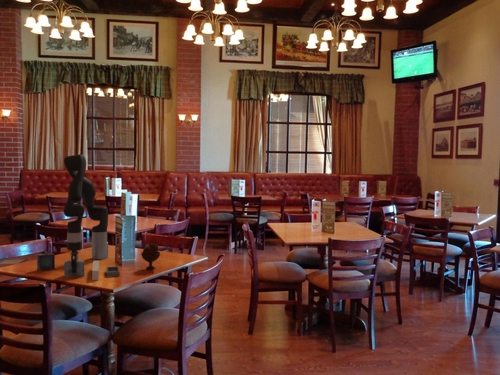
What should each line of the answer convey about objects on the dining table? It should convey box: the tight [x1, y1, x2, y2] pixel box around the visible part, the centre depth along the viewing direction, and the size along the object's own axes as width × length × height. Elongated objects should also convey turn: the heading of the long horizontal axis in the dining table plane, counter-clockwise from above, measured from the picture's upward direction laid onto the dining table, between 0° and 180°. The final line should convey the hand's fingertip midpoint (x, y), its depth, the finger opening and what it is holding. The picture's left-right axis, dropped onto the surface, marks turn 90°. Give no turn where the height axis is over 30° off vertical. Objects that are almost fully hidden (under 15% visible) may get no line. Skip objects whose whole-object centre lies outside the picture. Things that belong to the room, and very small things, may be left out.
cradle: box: [105, 266, 121, 278], centre depth 251 cm, size 13×7×2 cm, turn 18°
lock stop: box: [63, 259, 85, 278], centre depth 244 cm, size 10×4×8 cm, turn 108°
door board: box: [91, 260, 100, 281], centre depth 248 cm, size 24×3×5 cm, turn 18°
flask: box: [36, 250, 56, 271], centre depth 256 cm, size 9×3×11 cm, turn 109°
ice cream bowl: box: [140, 243, 161, 271], centre depth 263 cm, size 11×11×15 cm
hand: (74, 271), depth 244 cm, fingers open, 4 cm apart
